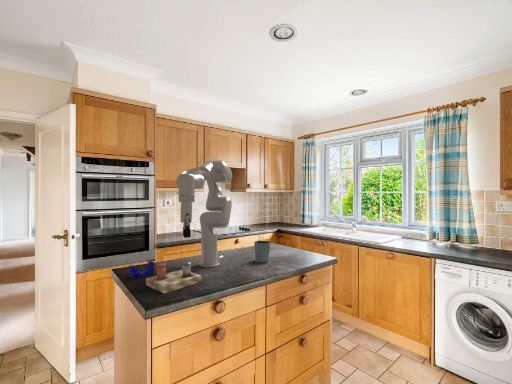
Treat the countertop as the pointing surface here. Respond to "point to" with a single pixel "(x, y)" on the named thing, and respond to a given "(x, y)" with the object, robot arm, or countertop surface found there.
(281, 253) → the countertop surface
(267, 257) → the drinking glass
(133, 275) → the cable clip
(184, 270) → the grey plug
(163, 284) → the board
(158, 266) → the red plug
